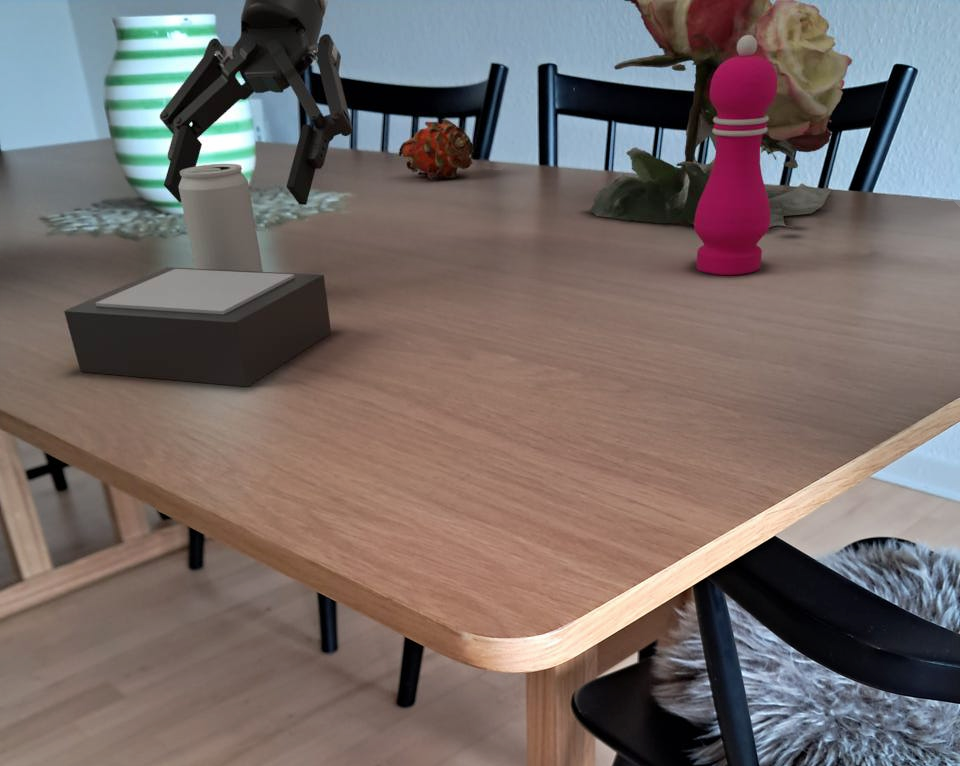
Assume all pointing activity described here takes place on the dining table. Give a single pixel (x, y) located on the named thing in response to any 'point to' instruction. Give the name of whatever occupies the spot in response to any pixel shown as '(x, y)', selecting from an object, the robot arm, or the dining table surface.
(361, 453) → the dining table surface
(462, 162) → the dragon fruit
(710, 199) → the pepper mill
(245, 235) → the beverage can
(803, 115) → the rose bouquet
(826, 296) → the dining table surface
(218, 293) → the cup warmer
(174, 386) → the dining table surface
